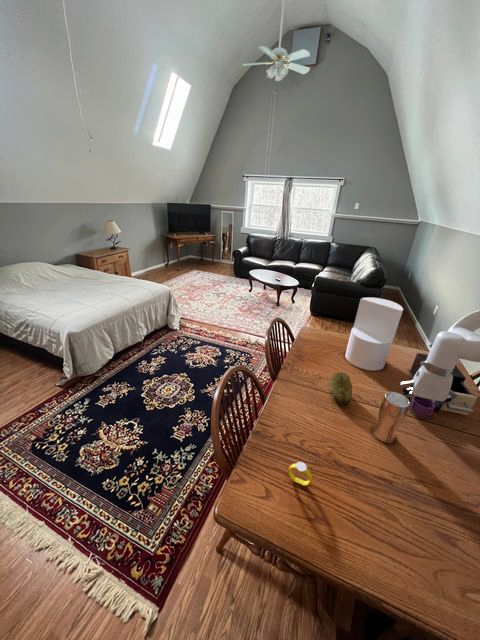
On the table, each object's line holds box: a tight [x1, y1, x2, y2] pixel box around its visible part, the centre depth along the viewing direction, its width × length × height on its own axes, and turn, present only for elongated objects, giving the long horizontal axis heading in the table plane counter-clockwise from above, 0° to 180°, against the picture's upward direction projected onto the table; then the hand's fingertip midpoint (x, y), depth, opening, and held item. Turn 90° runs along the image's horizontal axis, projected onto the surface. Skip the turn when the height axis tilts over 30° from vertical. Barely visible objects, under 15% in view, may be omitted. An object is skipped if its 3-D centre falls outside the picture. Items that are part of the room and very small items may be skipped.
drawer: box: [431, 378, 478, 416], centre depth 98 cm, size 18×11×8 cm, turn 164°
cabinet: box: [409, 352, 466, 383], centre depth 110 cm, size 14×13×10 cm
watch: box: [287, 461, 313, 487], centre depth 70 cm, size 6×3×6 cm, turn 61°
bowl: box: [408, 395, 436, 419], centre depth 96 cm, size 7×7×5 cm
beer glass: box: [372, 391, 411, 444], centre depth 83 cm, size 7×7×15 cm
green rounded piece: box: [330, 371, 353, 407], centre depth 100 cm, size 8×13×8 cm, turn 155°
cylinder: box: [345, 297, 404, 371], centre depth 120 cm, size 17×17×28 cm
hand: (419, 407), depth 96 cm, fingers open, 9 cm apart
